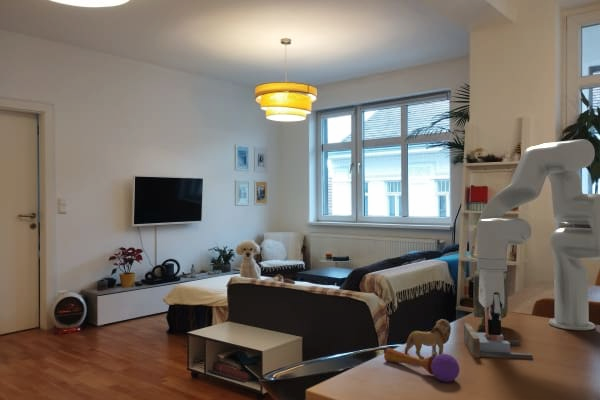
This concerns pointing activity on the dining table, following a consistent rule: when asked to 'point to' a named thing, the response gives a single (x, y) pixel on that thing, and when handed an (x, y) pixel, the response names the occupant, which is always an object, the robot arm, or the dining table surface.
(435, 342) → the lion figurine
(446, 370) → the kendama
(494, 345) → the block
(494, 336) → the dowel
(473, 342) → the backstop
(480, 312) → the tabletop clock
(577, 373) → the dining table surface
